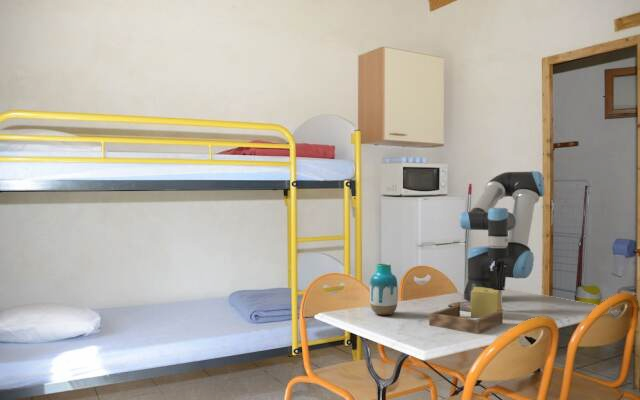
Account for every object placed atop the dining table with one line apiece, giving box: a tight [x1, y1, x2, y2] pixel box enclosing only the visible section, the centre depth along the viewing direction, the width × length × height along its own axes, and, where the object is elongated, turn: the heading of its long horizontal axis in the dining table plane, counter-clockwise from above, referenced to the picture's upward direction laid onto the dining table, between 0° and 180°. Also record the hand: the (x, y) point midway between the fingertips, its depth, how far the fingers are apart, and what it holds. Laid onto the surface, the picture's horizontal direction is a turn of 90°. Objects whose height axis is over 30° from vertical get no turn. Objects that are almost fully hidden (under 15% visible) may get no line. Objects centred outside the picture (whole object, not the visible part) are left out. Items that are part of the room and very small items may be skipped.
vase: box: [369, 263, 399, 316], centre depth 204 cm, size 11×11×19 cm
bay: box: [428, 301, 504, 335], centre depth 188 cm, size 18×20×5 cm
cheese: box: [470, 287, 503, 319], centre depth 202 cm, size 10×11×10 cm
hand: (498, 306), depth 210 cm, fingers closed
